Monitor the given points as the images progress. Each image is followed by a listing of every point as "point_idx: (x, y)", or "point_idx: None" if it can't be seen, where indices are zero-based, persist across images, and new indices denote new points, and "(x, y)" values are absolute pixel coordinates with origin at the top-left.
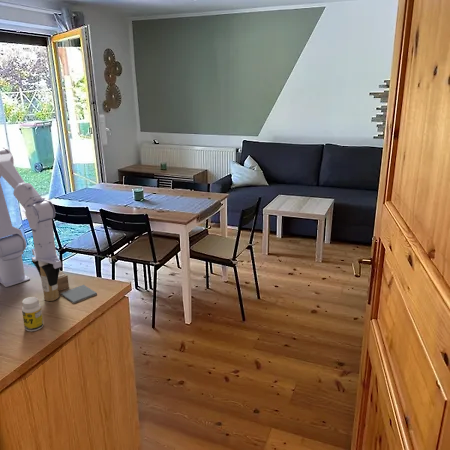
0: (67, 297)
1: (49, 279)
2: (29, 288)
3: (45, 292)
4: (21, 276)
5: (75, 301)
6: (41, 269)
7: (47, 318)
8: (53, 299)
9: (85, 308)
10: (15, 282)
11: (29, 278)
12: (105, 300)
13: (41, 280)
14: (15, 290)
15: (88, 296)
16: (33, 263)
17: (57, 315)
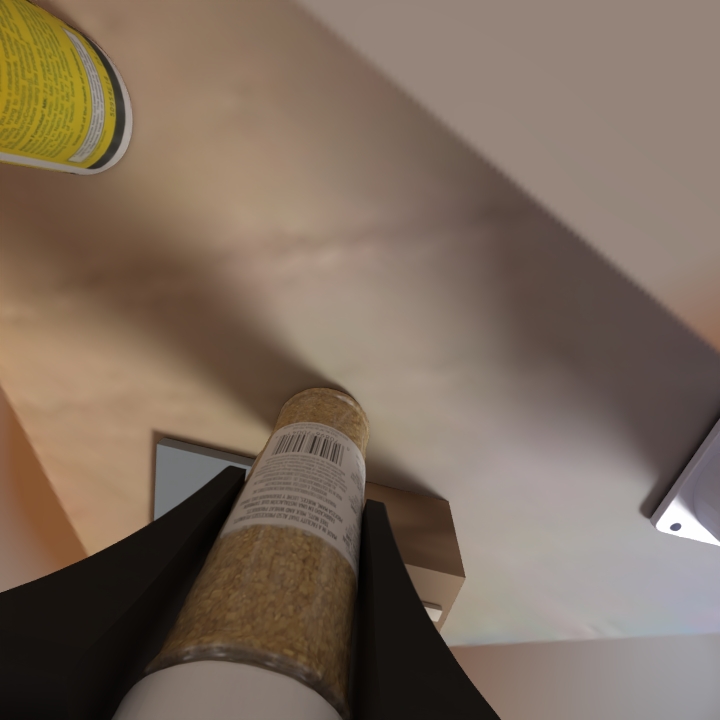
0: (229, 462)
1: (174, 510)
2: (560, 447)
3: (304, 418)
4: (717, 515)
5: (158, 452)
6: (244, 610)
7: (119, 240)
8: (281, 412)
9: (68, 429)
10: (716, 454)
11: (656, 526)
12: (73, 524)
13: (330, 487)
14: (636, 388)
15: (156, 516)
16: (471, 691)
17: (108, 299)
